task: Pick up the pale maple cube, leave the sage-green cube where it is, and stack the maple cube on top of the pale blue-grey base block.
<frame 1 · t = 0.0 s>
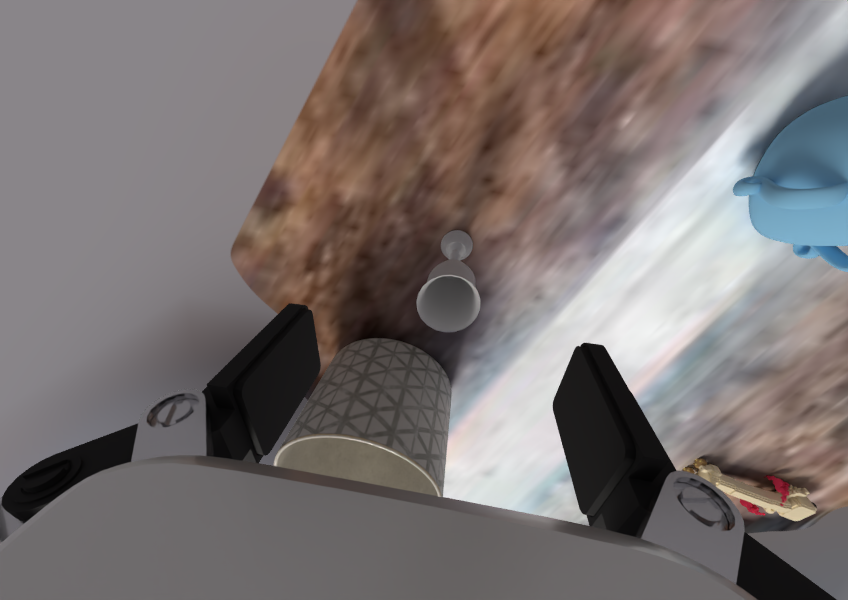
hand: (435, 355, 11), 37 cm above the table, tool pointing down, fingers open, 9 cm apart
chalice: (456, 245, 48), on the table
planter: (393, 372, 64), on the table
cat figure: (742, 478, 66), on the table
decorative pot: (807, 167, 36), on the table
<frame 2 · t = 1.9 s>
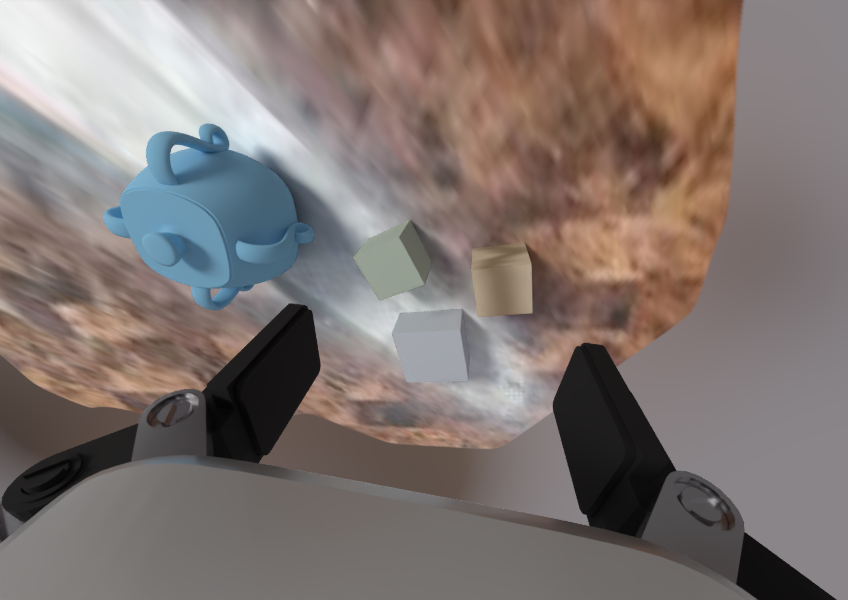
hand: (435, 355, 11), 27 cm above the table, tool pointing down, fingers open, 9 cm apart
maple cube: (499, 267, 37), on the table
base block: (435, 335, 45), on the table
sage cube: (400, 250, 38), on the table
decorative pot: (253, 209, 39), on the table
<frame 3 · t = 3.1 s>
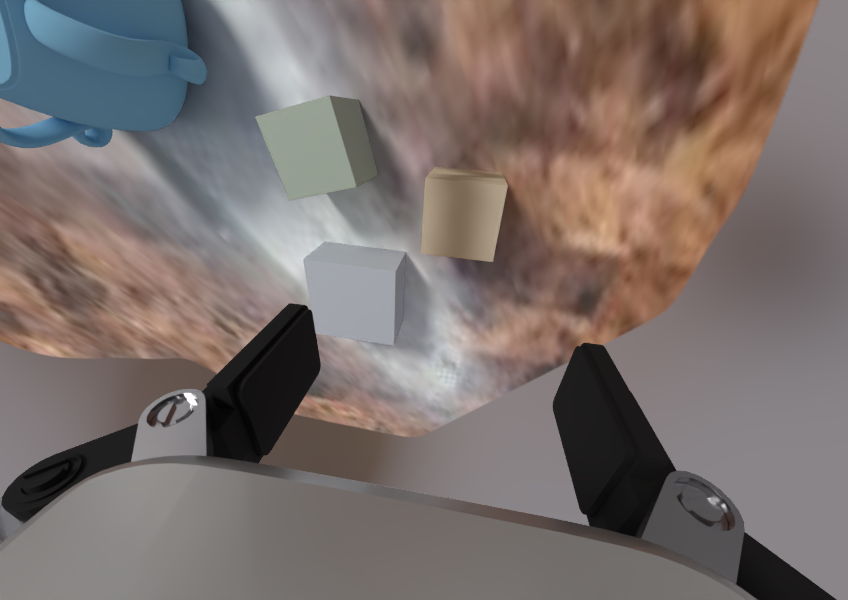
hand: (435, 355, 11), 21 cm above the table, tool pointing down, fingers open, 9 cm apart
maple cube: (463, 203, 29), on the table
base block: (366, 282, 35), on the table
sage cube: (338, 146, 28), on the table
decorative pot: (124, 22, 25), on the table
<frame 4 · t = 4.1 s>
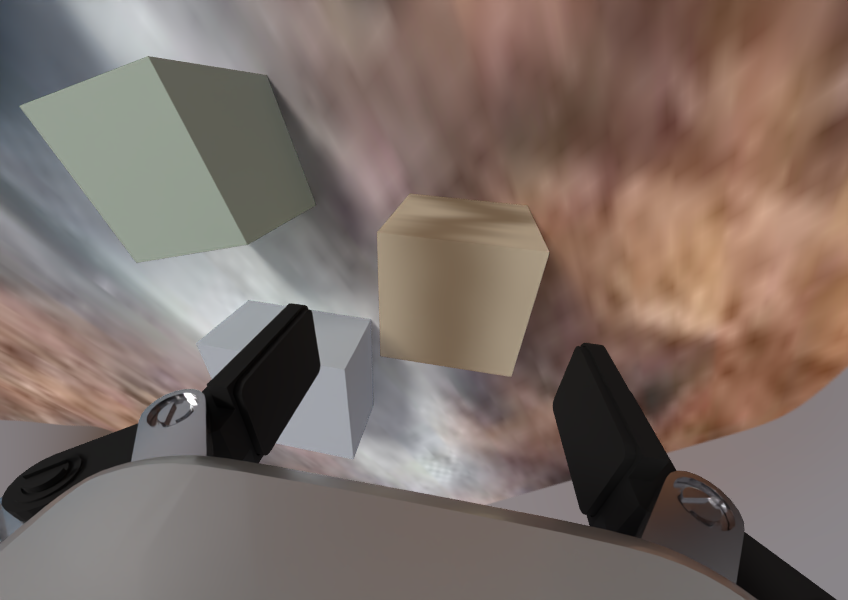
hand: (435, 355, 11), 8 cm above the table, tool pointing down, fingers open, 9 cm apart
maple cube: (460, 253, 17), on the table
base block: (317, 354, 24), on the table
sage cube: (246, 158, 16), on the table
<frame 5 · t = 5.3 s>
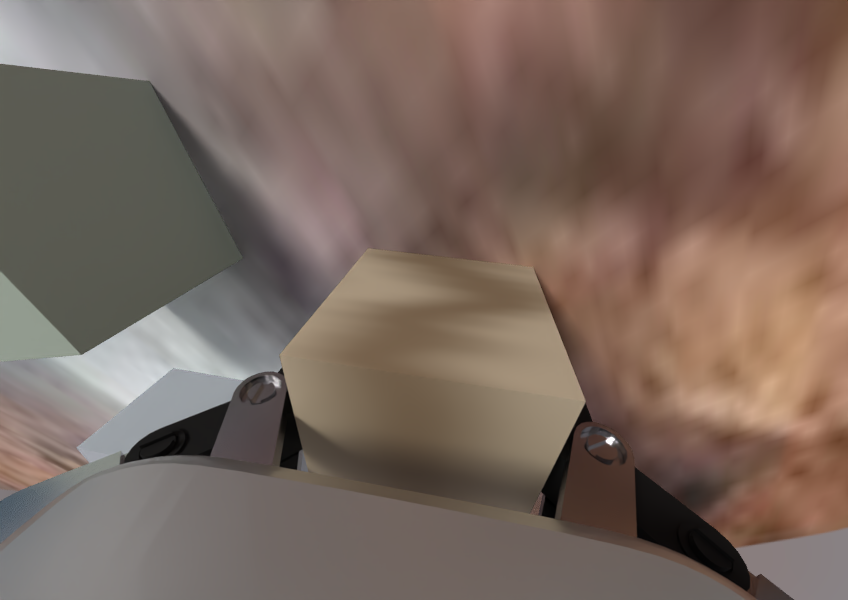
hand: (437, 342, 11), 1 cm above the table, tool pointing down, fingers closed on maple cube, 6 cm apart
maple cube: (441, 324, 12), on the table, touching gripper
base block: (268, 429, 19), on the table
sage cube: (141, 196, 12), on the table
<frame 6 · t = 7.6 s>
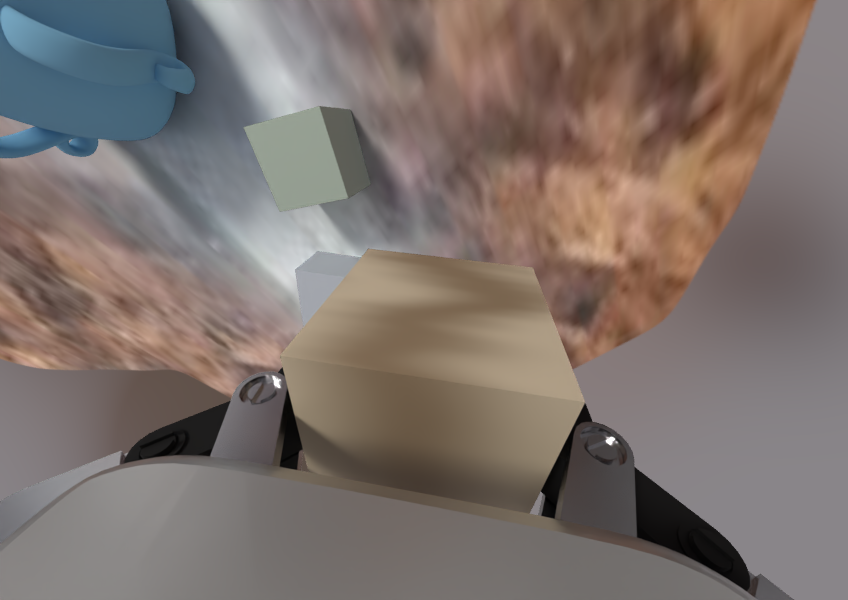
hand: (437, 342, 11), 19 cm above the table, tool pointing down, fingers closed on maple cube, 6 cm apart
maple cube: (441, 324, 13), point 18 cm above the table, touching gripper
base block: (360, 292, 34), on the table
sage cube: (330, 156, 27), on the table
decorative pot: (111, 31, 25), on the table
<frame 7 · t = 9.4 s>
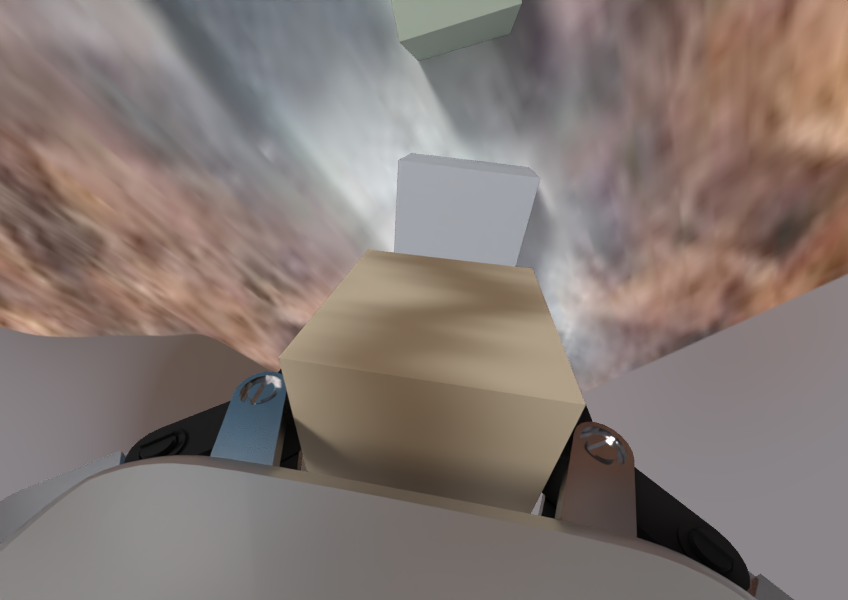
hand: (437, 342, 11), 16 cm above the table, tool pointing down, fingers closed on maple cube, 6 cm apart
maple cube: (440, 325, 12), point 15 cm above the table, touching gripper
base block: (460, 217, 26), on the table
when the fingers open (7 cm above the table, at t = 11.7 s): maple cube drops 2 cm, resting on base block.
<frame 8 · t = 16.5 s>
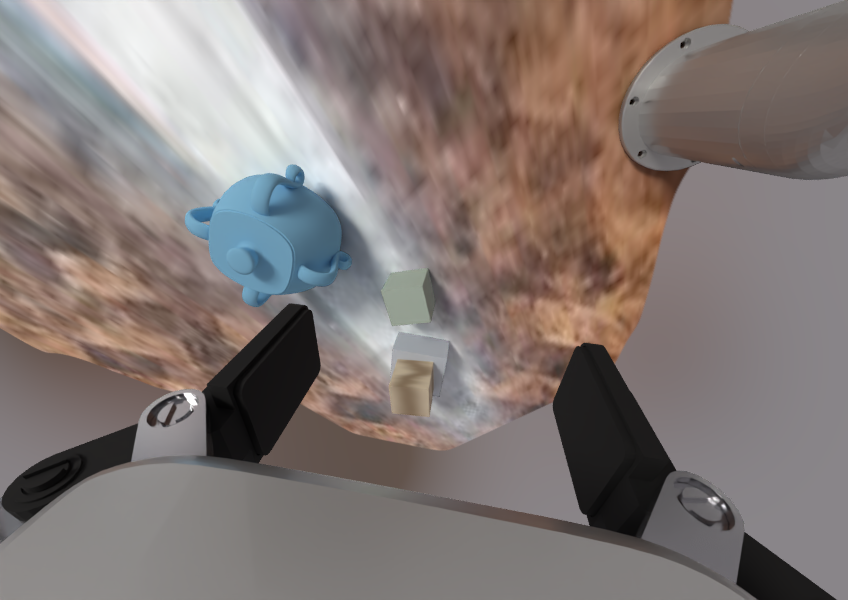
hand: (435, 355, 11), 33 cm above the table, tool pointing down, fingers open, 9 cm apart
maple cube: (416, 373, 51), point 5 cm above the table, touching base block
base block: (421, 354, 55), on the table, touching maple cube
sage cube: (413, 287, 48), on the table
decorative pot: (299, 226, 46), on the table
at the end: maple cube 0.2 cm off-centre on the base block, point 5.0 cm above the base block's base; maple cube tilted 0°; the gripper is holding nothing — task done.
